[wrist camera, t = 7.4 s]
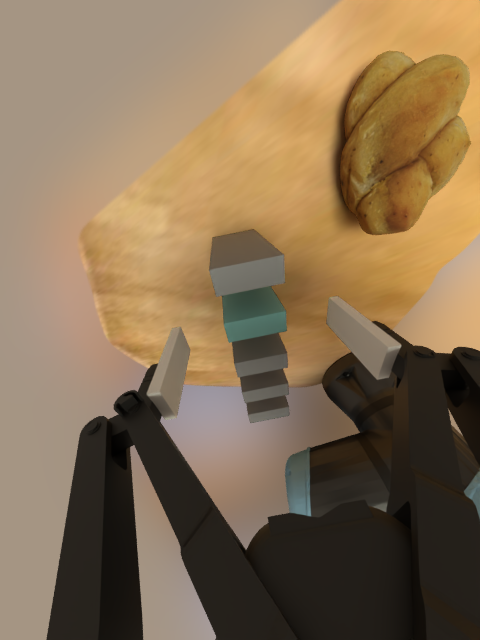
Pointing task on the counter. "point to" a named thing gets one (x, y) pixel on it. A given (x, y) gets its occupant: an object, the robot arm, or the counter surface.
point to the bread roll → (402, 138)
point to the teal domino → (253, 314)
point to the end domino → (244, 263)
